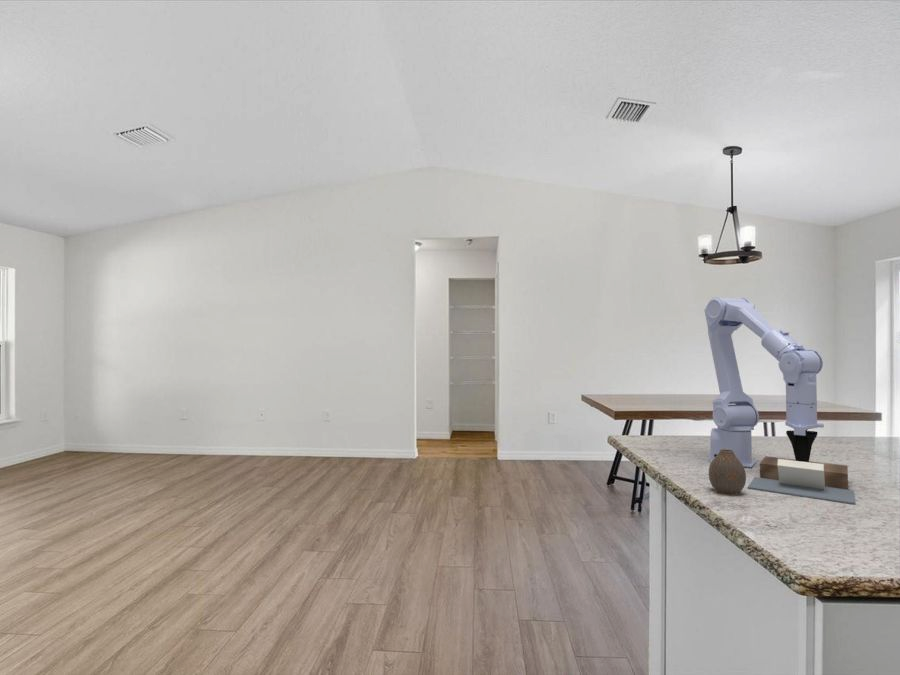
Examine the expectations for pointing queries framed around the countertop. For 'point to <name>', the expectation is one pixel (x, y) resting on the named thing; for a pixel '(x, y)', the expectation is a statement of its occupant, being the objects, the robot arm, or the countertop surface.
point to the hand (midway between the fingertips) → (802, 463)
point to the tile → (801, 473)
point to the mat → (803, 490)
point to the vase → (727, 473)
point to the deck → (832, 472)
